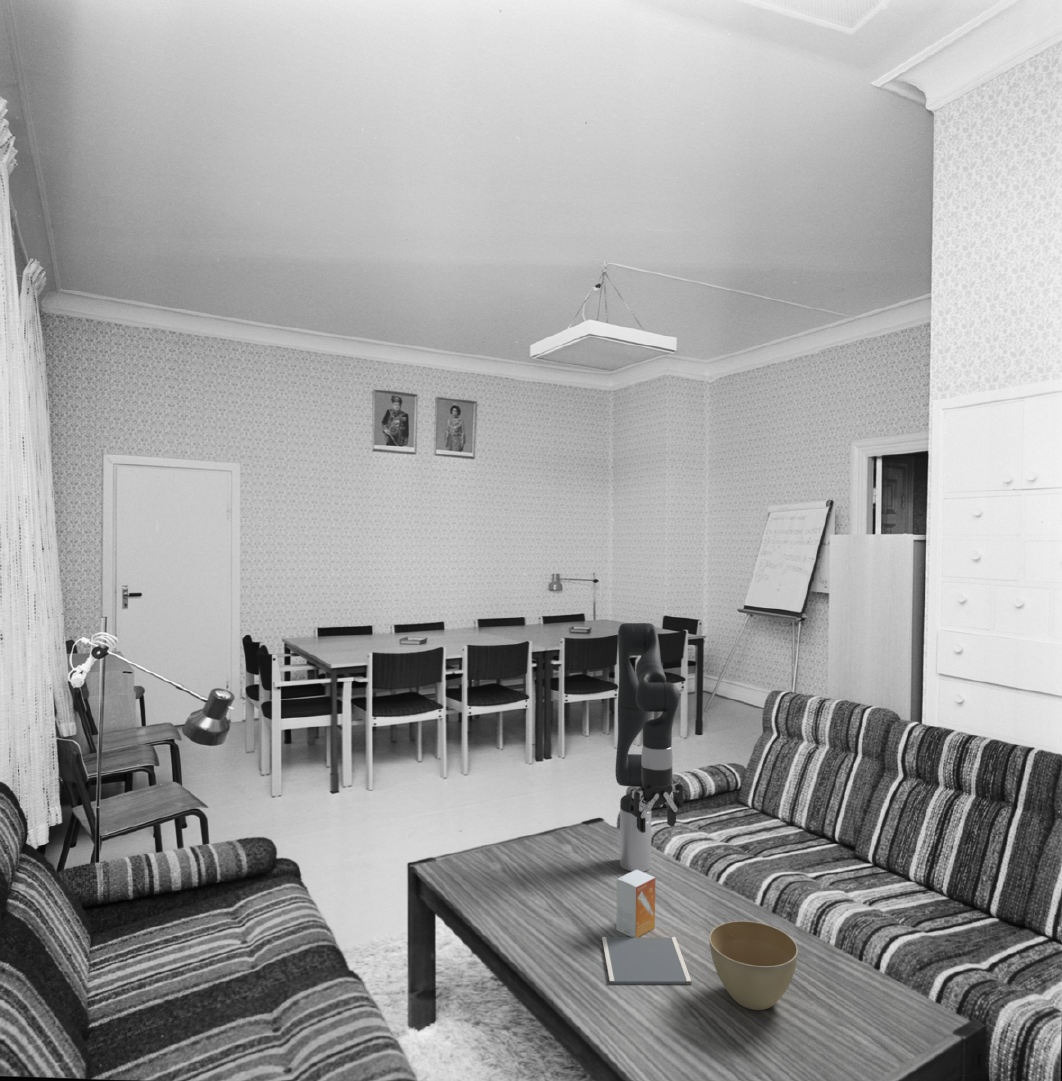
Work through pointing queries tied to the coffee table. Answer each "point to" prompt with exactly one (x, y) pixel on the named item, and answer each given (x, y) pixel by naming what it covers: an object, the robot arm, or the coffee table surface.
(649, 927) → the small box
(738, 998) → the beige round bowl
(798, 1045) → the coffee table surface
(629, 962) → the mat
